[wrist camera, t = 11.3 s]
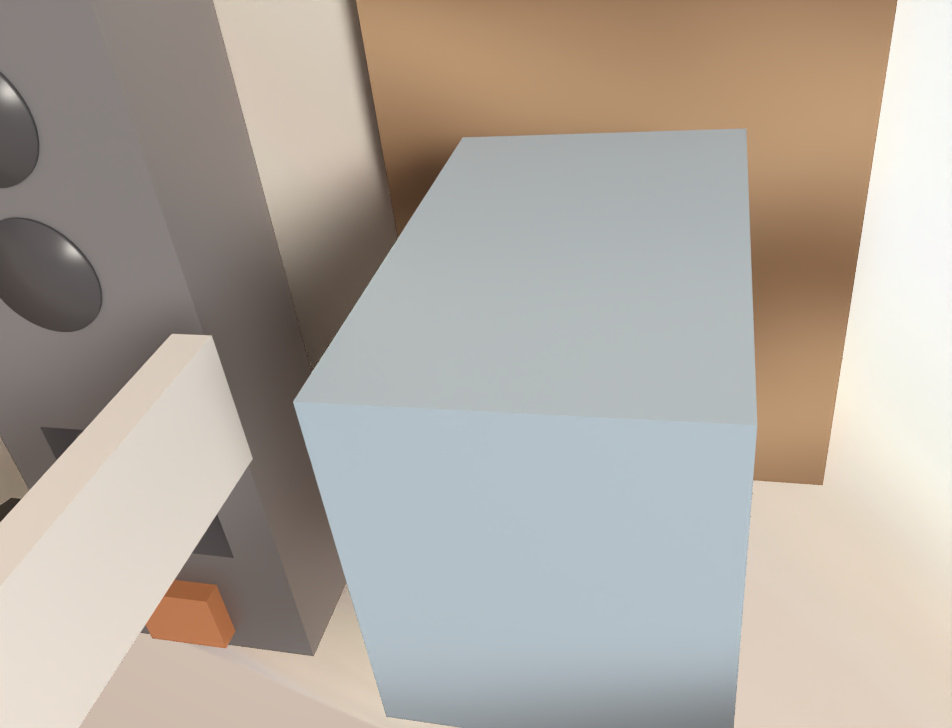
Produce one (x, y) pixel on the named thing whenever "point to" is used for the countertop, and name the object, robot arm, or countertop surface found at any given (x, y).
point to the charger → (551, 436)
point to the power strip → (155, 288)
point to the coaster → (673, 109)
